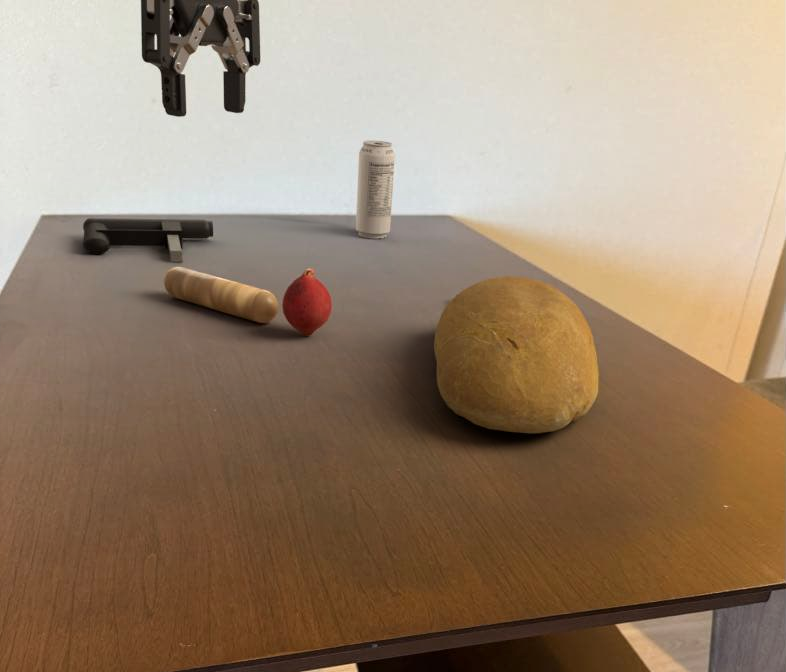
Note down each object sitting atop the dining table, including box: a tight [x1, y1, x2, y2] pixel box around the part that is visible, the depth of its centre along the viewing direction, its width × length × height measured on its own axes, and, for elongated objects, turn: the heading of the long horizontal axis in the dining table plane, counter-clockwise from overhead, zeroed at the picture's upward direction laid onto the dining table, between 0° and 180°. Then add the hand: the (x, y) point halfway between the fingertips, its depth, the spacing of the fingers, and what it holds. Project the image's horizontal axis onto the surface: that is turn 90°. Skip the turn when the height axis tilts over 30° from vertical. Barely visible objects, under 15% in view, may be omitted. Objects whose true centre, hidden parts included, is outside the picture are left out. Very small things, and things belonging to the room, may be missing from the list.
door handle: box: [82, 217, 214, 263], centre depth 132 cm, size 3×20×16 cm
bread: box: [433, 275, 600, 434], centre depth 93 cm, size 18×35×10 cm, turn 178°
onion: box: [281, 268, 333, 337], centre depth 101 cm, size 6×6×8 cm
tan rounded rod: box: [163, 266, 280, 324], centre depth 108 cm, size 18×4×4 cm, turn 57°
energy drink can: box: [355, 140, 396, 240], centre depth 146 cm, size 6×6×15 cm
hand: (205, 113), depth 87 cm, fingers open, 8 cm apart
